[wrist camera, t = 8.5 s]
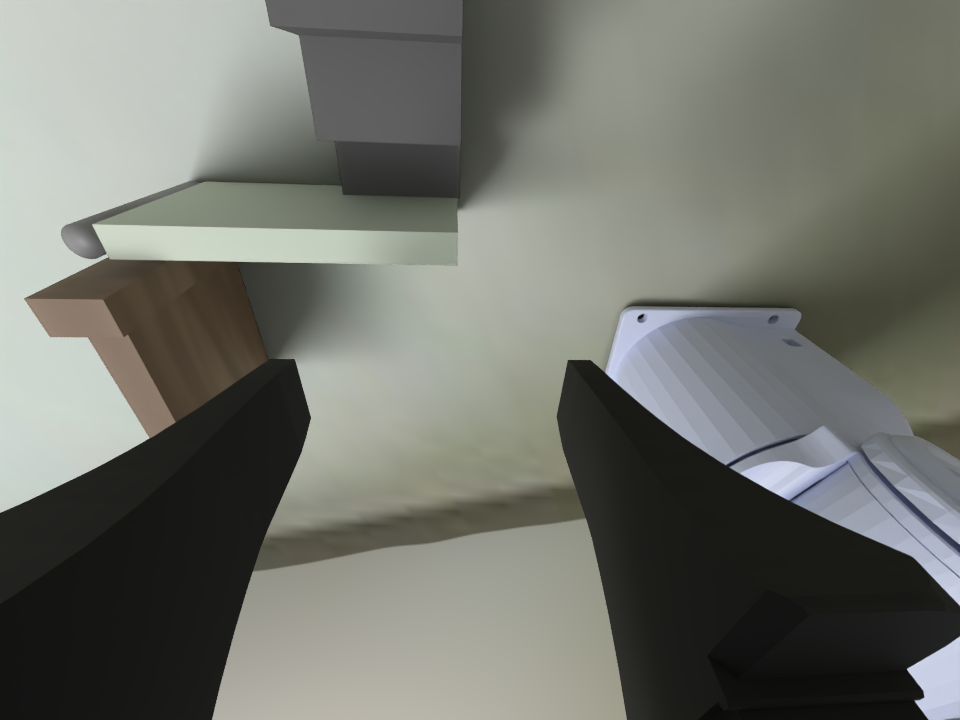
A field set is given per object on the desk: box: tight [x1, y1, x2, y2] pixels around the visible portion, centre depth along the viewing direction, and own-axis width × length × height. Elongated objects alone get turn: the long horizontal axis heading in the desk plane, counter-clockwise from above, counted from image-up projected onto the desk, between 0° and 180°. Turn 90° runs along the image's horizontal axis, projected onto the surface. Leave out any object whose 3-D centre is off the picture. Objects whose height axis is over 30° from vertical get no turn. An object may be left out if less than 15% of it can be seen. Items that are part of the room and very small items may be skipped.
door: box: [61, 181, 458, 266], centre depth 14 cm, size 11×1×6 cm, turn 88°
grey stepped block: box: [265, 0, 463, 198], centre depth 12 cm, size 7×4×6 cm, turn 178°
